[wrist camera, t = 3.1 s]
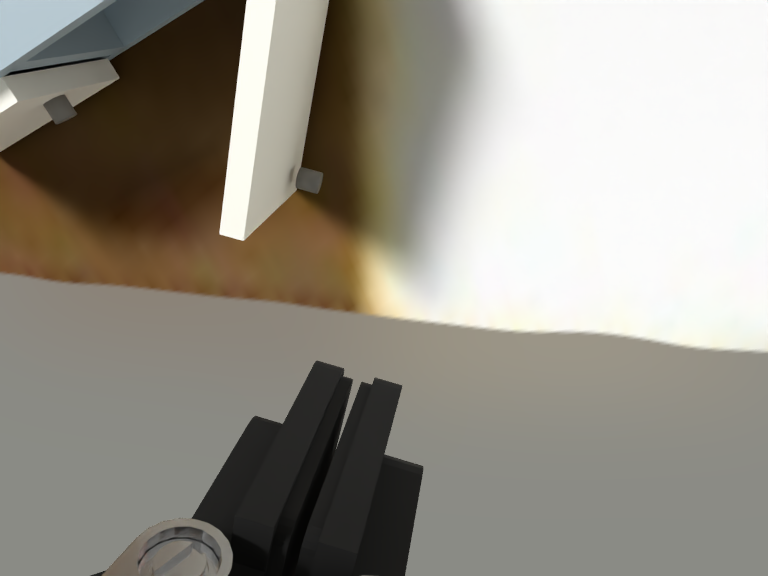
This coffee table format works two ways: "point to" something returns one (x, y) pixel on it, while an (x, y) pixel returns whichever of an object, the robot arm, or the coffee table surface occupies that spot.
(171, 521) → the robot arm
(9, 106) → the cabinet
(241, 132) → the left door
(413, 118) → the coffee table surface
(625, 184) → the coffee table surface
